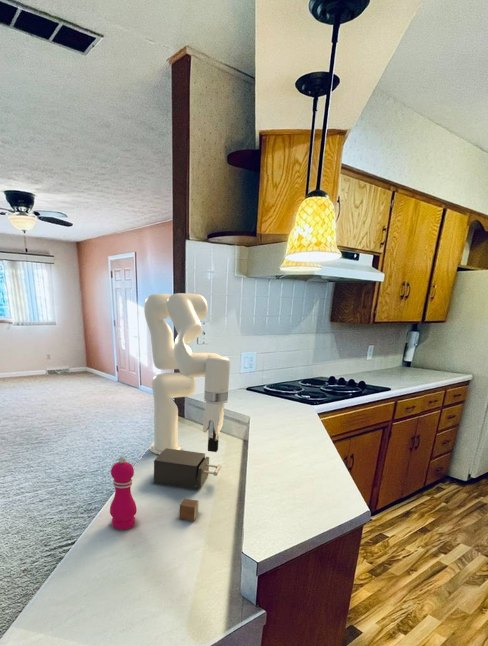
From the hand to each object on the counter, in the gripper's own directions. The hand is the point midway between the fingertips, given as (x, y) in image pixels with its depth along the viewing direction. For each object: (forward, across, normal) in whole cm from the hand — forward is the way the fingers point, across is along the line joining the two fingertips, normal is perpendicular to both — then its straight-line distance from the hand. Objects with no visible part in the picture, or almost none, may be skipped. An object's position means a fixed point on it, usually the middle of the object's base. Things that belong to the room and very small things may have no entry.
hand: (212, 450), depth 137 cm
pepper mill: (+13, +34, -17) cm, 40 cm away
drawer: (+11, 0, -7) cm, 13 cm away
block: (+13, +24, -1) cm, 27 cm away
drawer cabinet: (+12, 0, -11) cm, 17 cm away
